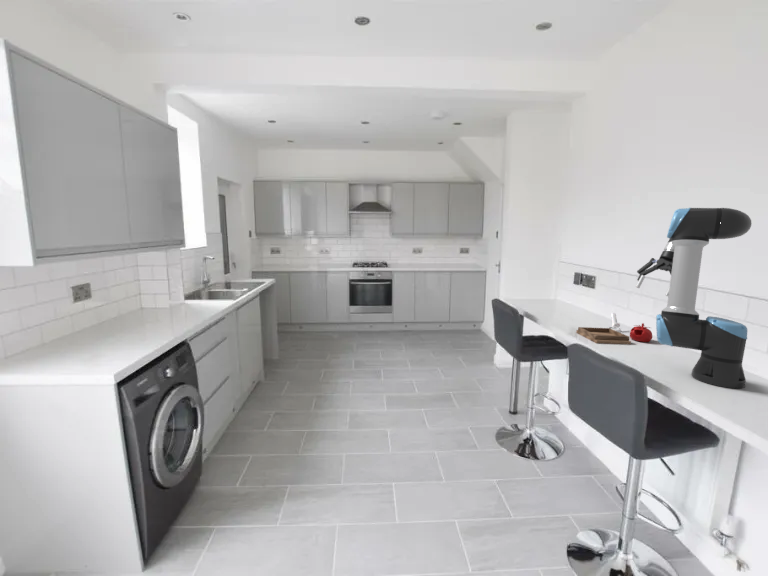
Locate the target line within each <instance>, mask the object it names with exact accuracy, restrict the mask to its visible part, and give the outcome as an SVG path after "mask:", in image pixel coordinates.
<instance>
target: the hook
mask: <svg viewBox="0 0 768 576" xmlns="http://www.w3.org/2000/svg"><path fill="white" fill-rule="evenodd" d="M610 315H611V320H612V321H611V322H612V323H611V326H608V327H606V328H610V329H613V330H615V331H617V332H620V333H622V330H621V329H622V328H620V326H621V324H620V323H619V322H618V320H617V315H616V313H615V312H611V313H610Z"/></svg>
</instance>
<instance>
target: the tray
mask: <svg viewBox="0 0 768 576" xmlns="http://www.w3.org/2000/svg"><path fill="white" fill-rule="evenodd" d="M575 333H576V334H577V335H579V336H582V337H584V338H586V339H587V340H589V341H591V342H594V343H595V344H603V345H604V344H607V345H608V344H609V345H610V344H611V345H631V344H632V341H631V340H630V335H626V334H624V333H622V332H621V333H620V332H617V331H615V330H613V329H610V328H607V327H584V326H583V327H582V326H578V329H576V332H575Z"/></svg>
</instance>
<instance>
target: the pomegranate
mask: <svg viewBox="0 0 768 576" xmlns="http://www.w3.org/2000/svg"><path fill="white" fill-rule="evenodd" d="M633 326H634V327H632V328H631V329H630V332H629V339H631V340H633V341H636V342H641V343H649V342H651V341H652V340H653V333H652V331H651V330H650V329H651V327H649V326H646V325H645V323H644V322H642V323H641V325H640V324H638V325H637V324H635V325H633Z"/></svg>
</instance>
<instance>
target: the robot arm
mask: <svg viewBox="0 0 768 576" xmlns="http://www.w3.org/2000/svg"><path fill="white" fill-rule="evenodd" d="M671 217H672V218H671V222H670V224H669V226H668V227H669V228H668V230H667V235H666V238H667V239H669V240H668V241H667V243H666V244H665V247H664V249H663V251H662V252H661V254H660V256H659V259H656V258H653V257H651V258H650V260H648V262H646V264H644V265H643V266H641V267H640V268H639V269H637V271H636V273H637V274H638V277H637V278H636V279H637V280H636V281H637V283H636V285H635V287H636V288H637V289H640V288H641V286H642V284H643V282H644V280H645V278H646V275H649V274H651V273H653V272H655V271H656V270H657V271H658V270H660V271H665V272H669V274H670V279H669V280H670V281H669V286H668V288H667V290H666V291H665V296H666V297H667V303H666V304H667V305H666V307H664V308H663V309H661V313H659V314H657V315H656V317H655V318H656V322H655V323H656V324H655V325H656V328H655V329H656V339H657V342H658V343H659V344H660V345H665V346H670V347H674V348H675V347H677V348H683V349H690V350H696V351H700V357H699V359H698V360H697V361H696V364H695V365H694V366H693V368H692V370H691V377H692V378H694V379H695V380H698V381H700V382H703V383H706V384H710V385H712V386H713V385H714V386H716V387H717V386H718V387H722V388H728V389H742V388H743V389H744V388H745V387H746V382H747V379H746V376H745V372H744V368H743V361H744V355H745V350H746V345H747V340H748V327H747V326H746V324H743V323H740V322H737V321H735V320H730V319H727V318H722V317H719V316H718V317H717V316H707V317H706V318H705V319H700V314H699V312H698V311H697V310H696V301H697V294H698V289H699V288H698V287H699V280H700V272H701V265H702V257H703V251H704V248H705V247H706V246H707V245H709V243H710V240H726V239H733V238H739V237H742V236H744V235H745V234H746V233H748V232H749V230H750V229H751V227H752V219H751V217H750V216H749V215H748V214H747V213H746V212H743V211H741V210H739V209H735V208H730V207H729V208H728V207H688V208H684V207H683V208H677V209H676V210H674V212H673V214H672V216H671ZM720 222H721V224H720Z"/></svg>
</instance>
